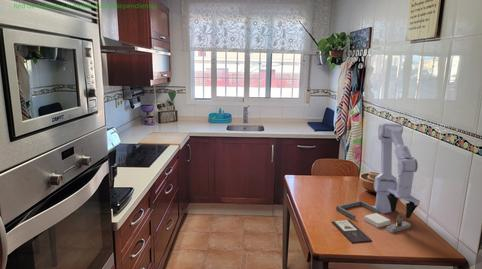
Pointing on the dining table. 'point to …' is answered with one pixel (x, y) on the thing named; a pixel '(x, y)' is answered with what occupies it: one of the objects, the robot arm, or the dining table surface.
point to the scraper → (398, 224)
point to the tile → (377, 220)
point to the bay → (342, 207)
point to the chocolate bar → (351, 231)
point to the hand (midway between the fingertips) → (400, 214)
